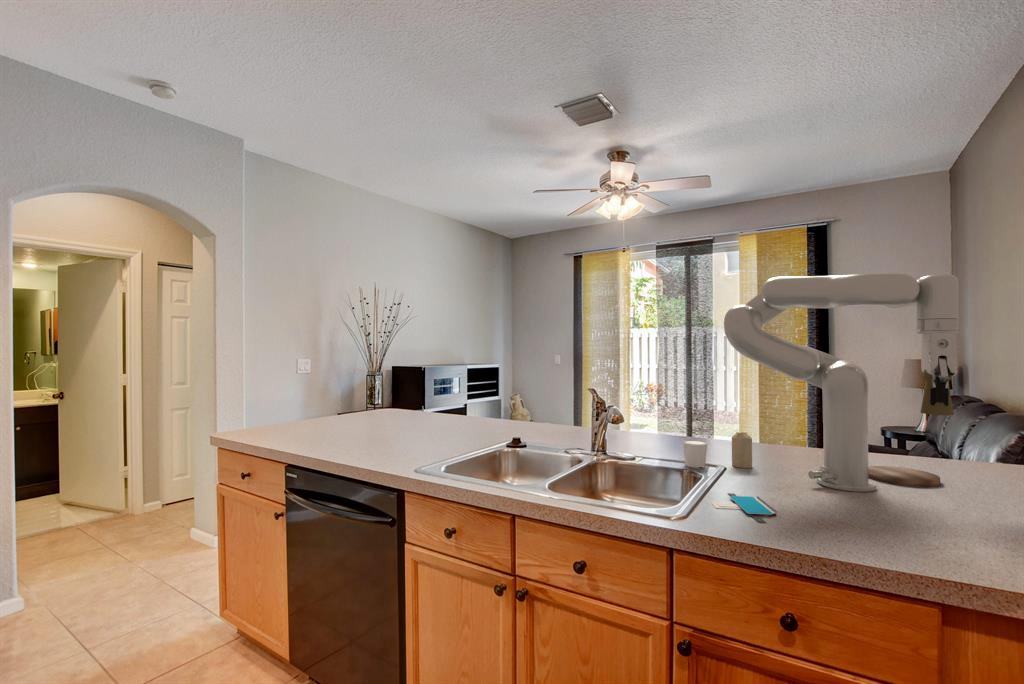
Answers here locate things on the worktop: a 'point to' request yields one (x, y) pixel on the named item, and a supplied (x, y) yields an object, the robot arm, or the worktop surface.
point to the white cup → (695, 453)
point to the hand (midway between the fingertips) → (936, 403)
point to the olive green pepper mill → (939, 407)
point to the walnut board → (903, 476)
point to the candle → (741, 450)
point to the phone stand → (748, 506)
